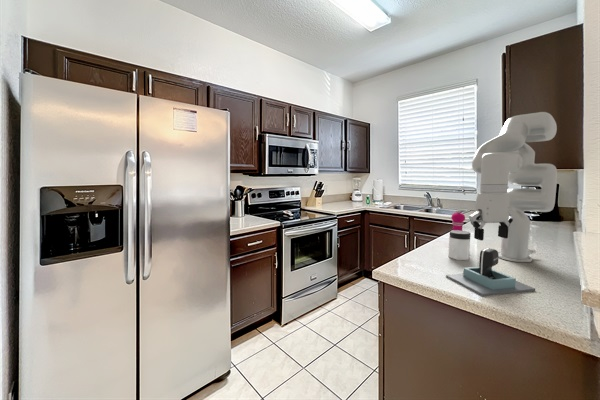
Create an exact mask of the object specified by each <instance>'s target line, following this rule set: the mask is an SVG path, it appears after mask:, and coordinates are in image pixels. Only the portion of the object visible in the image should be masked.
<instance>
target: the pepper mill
mask: <svg viewBox="0 0 600 400" xmlns="http://www.w3.org/2000/svg"><path fill="white" fill-rule="evenodd" d="M450 218H451V220H452V221H451V222H452V230H461V231H463V226H464V221H465V220H466V215H465V214H464V213H462V212H461V210H460V209H457V210H456V212H455V213H452V215H451V217H450Z"/></svg>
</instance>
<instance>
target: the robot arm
mask: <svg viewBox="0 0 600 400" xmlns="http://www.w3.org/2000/svg"><path fill="white" fill-rule="evenodd" d="M557 127H558V126H557V122H556V120H555V118H554V117H553V115H552V114H551V113H549V112H546V111H539V112H533V113H526V114H525V113H524V114H519V115H518V114H517V115H513V116H511V117H509V118H508V119H506V121H505V122H504V125H503V126H502V128H501V130H500V132H499V135H498V136H495V137H494V138H492V139H490V140H488V141H486V142H484V143H482V145H480V146H479V147H478V149H477V150H476V152H475V154H474V156H473V159H472V162H471V163H472V164H471V168H472V171H473V172H474V173H476V174H479V175H480V186H479V187H480V188H479V193H477V196H476V198H475V199H476V200H475V204H474V212H473V213H471V214H470V215H469V216H468V218H469V219H468V220H469V221H470V224H471V225H472V227H473V228H474V236H473V237H474V239H475V240H478V241H484V239H485V237H484V235H485V230H484V227H485V225H486V224H494V223H495V224H496V223H499V225H498V230H497V236H498V237H499V238H501V241H500V251H498V259H502V260H505V261H509V262H515V263H516V262H517V263H531V262H532V261H533V257H531V256H530V255H532V254H533V255H534V254H536V253H537V251H536V250H535V249H530V248H529V243H530V231H531V229H530V228H531V220H530V217H528V215H527V214H526V213H525V212H540V213H549V212H551V211H553V210H554V207H555V204H556V197H557V196H556V193H557V185H558V184H557V182H558V170H557V167H556V165H554V164H552V163H535V157H536V151H535V150H534V149H533V148H532V147H531V146H530V145H529V144H528V143H534V142H535V143H536V142H546V141H547V142H548V141H551V140H552V139H553V138H555V136H556V134H557V129H558V128H557ZM509 184H510V185H513V186H519V187H520V186H523V187H528V186H529V187H540V188H536V189H535V188H509ZM524 211H525V212H524Z"/></svg>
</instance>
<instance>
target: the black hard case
mask: <svg viewBox="0 0 600 400" xmlns="http://www.w3.org/2000/svg"><path fill="white" fill-rule="evenodd" d="M498 252H499V251H498V250H497V249H494V248H490V247H486V248H483V249H481V250H480V253H479V263H478V264H479V265H478V267H479V274H481V275H483V276H486V277H488V278H490V279H495V278H494V276H493V274H492V269H493V267H494V266H497V265H498V264H499V257H498Z"/></svg>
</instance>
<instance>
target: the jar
mask: <svg viewBox="0 0 600 400" xmlns="http://www.w3.org/2000/svg"><path fill="white" fill-rule="evenodd" d="M448 239H449V240H448V257H449V258H450V259H454V260H457V261H469V258H470V253H471V252H470V251H471V250H470V249H471V232H470V231H467V230H462V231H461V230H453V229H452V230H450V231H449V238H448Z"/></svg>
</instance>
